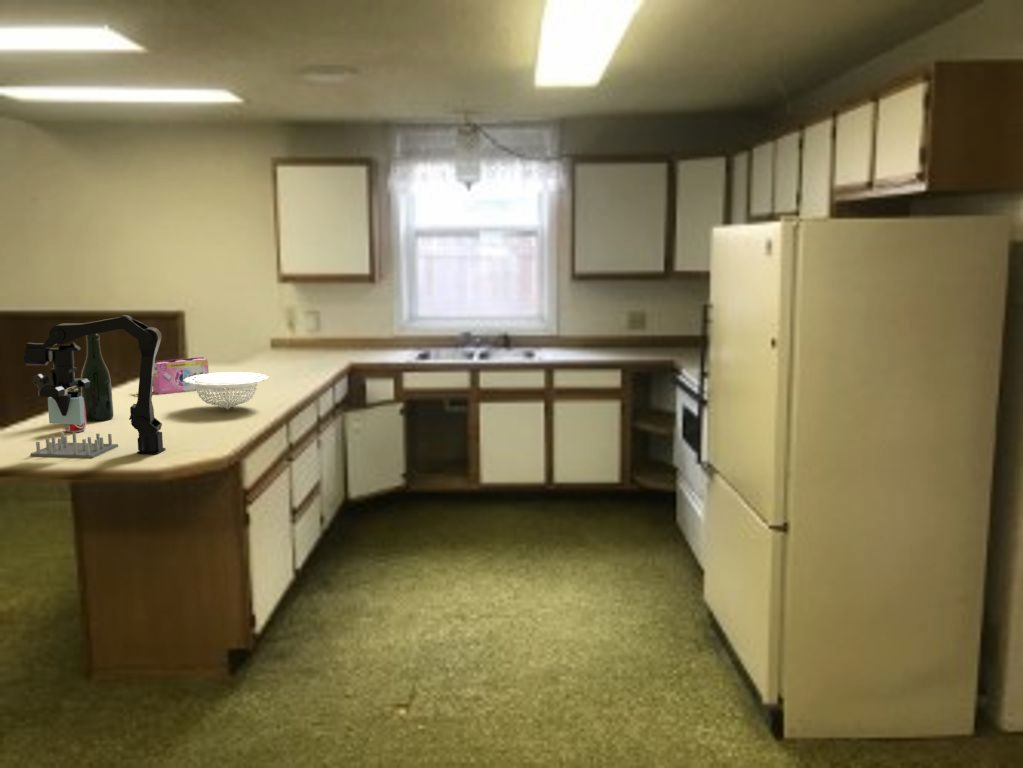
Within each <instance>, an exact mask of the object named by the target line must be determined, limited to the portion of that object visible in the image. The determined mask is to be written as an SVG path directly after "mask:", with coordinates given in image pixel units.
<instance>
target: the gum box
mask: <svg viewBox="0 0 1023 768" xmlns="http://www.w3.org/2000/svg"><path fill="white" fill-rule="evenodd" d="M209 373H210V372H209V359H208V358H205V357H202V356H201V357H200V356H199V357H190V358H178V359H177V358H175V359H166V360H165V359H164V360H155V366H154V377H153V389H152V393H155V394H158V395H162V394H163V395H164V394H173V393H183V392H190V391H192V392H193V391H197V389H196V386H195V385H194V384H189V383H186V382H185V381H183V380H184V379H185V378H187V377H190V376H194V375H201V374H209ZM194 378H195V377H194ZM192 380H193V379H192ZM208 389H209V388H208ZM209 390H210V389H209Z"/></svg>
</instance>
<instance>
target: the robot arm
mask: <svg viewBox="0 0 1023 768" xmlns="http://www.w3.org/2000/svg"><path fill="white" fill-rule="evenodd" d="M117 330H124V331H125V332H127V333H128V334H129V335H130V336H131V337H132V338H134V339H137V341H138V350H139V353H140V365H139V366H140V367H139V378H138V379H139V380H138V389H137V390H138V392H137V401H136V403H133V404H132V405H131V406H130V407H129V409H130V410H129V411H130V415H129V418H128V420H129V421H130V423H131V426H132V427H133V428H134V429H135V430H137V432H138V437H137V452H136V453H137V455H138V454H139V455H140V454H141V455H142V454H143V455H157V454H159V453H162V452H163V451H165V450H166V447H164V442H163V441H164V440H163V431H161V430H162V426H163V422H160V421H159V420H158V419H157V418H156V417H155V412H154V411H155V410H154V405H153V401H152V398H153V377H154V366H155V361H156V356H157V353H158V351H159V347H160V345H161V341H162V337H163V336H162V332H161V331H160V330H159V329H158V328H157V327H153V326H150V327H149V326H148V325H146V324H144V323H143V322H141V321H139V320H136V319H134V318H133V317H132V316H130V315H128V314H123V315H120V316H117V317H112V318H107V319H106V318H105V319H102V320H97V321H95V320H94V321H90V322H84V323H83V322H82V323H77V322H75V323H73V322H72V323H71V322H69V323H60V324H57V325H54V326H52V327H51V329H50V330H49V331H48V337H47V339H46V340H45V341H44V342H43V343H41V342H40V343H39V342H37V343H35V342H27V343H25V349H24V353H23V361H24V364H25V365H26V366H48V365H49V363H51V362H52V364H53V365H52V366H53V368H50V370H49V373H48V374H46V375H43V374H42V373H38V374H35V375H33V376H32V377H33V378H32V384H33V385H34V386H35V387H37V388H38V392H37V393H38V397H40V398H46V397H47V398H49V397H52V398H53V399H54V400H55V401H56V403H57V405H58V407H59V409H60V412H61V414H62V416H66V415H67V411H68V407H69V403H70V398H71V397H79V396H81V393H82V390H81V389H80V390H79V388H81V387H83V388H89V387H90V381H89V380H88V379H85V378H81V377H79V378H78V377H77V378H76V377H75V376H76V373H75V372H77V371H78V367H77V366H76V367H75V358H74V357H75V356H74V351H75V352H78V351H80V350H81V346H79V345H77V344H76V342H74V340H77V339H79V338H82V337H84V336H85V337H86V335H91V334H96V333H98V334H100V333H106V332H112V331H117ZM71 341H73V342H71ZM68 342H71V343H70V344H66V343H68ZM57 345H59V346H58V347H55V346H57Z"/></svg>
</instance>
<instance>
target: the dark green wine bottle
mask: <svg viewBox="0 0 1023 768" xmlns="http://www.w3.org/2000/svg"><path fill="white" fill-rule="evenodd" d="M99 334H100V333H96V334H91V335H86V336H85V340H86V357H85V361H84V365H83V367H82V370H81V375H80V378H85V379H88V380H89V381H90V387H89V388H83V387H80V390H82V393H81V394H80V396H82V398H84V402H85V412H86V422H102V421H108V420H109V421H110V420H111V419H113V418H114V416H115V415H114V403H113V391H112V389H113V388H112V383H111V381H112V380H111V375H110V372H109V369H108V367H107V364H106V362H105V360H104V358H103V356H102V351H101V345H100V339H101V338H100V335H99Z"/></svg>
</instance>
